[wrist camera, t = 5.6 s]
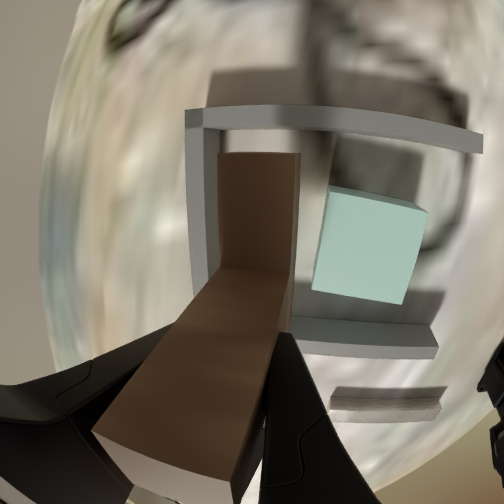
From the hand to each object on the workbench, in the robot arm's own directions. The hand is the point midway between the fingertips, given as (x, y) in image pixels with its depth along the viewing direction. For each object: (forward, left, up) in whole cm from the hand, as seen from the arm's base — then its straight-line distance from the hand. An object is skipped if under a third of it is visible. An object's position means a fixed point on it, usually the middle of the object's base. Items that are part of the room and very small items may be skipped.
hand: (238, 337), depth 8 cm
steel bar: (-11, +17, -13) cm, 24 cm away
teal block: (-5, 0, -13) cm, 14 cm away
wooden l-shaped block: (0, 0, -5) cm, 5 cm away
